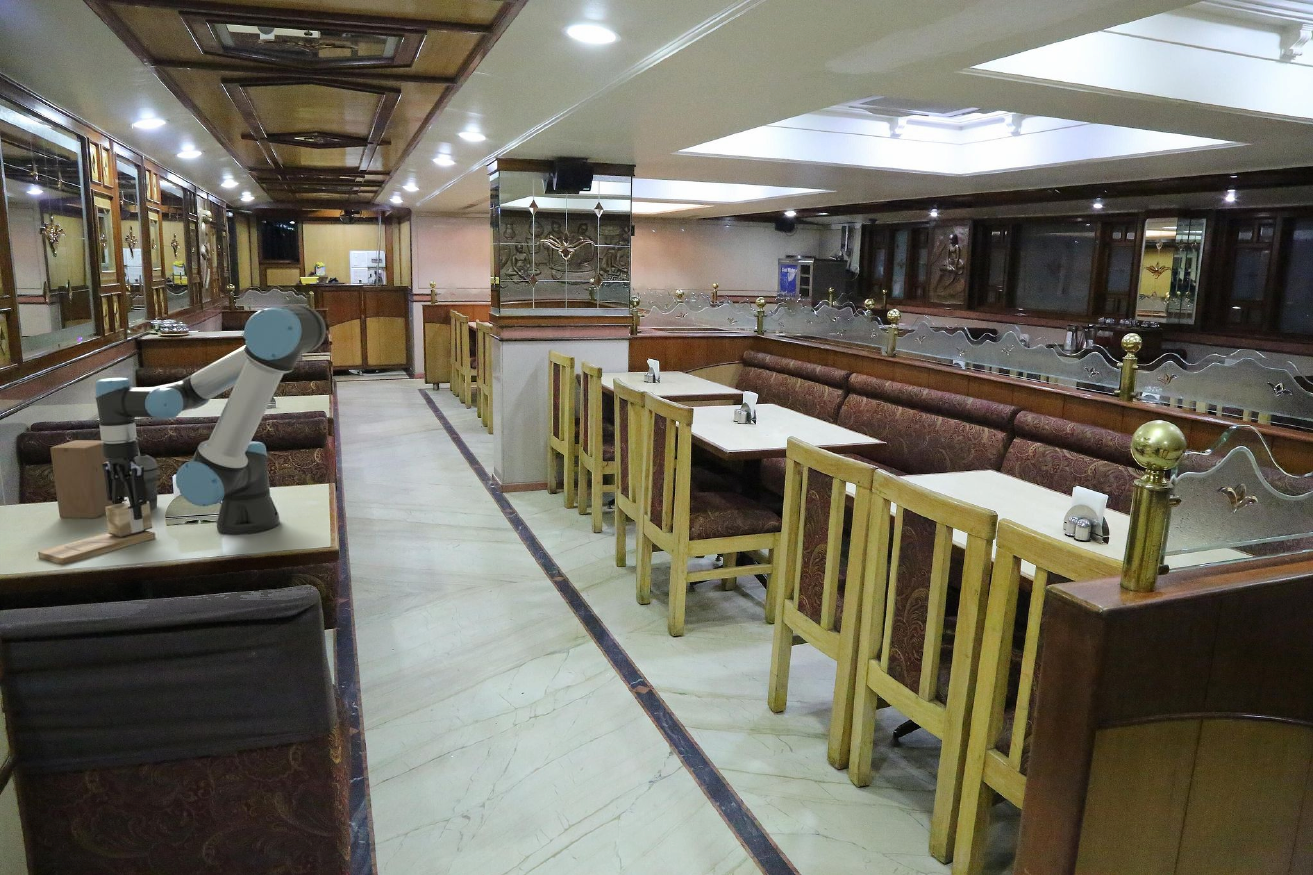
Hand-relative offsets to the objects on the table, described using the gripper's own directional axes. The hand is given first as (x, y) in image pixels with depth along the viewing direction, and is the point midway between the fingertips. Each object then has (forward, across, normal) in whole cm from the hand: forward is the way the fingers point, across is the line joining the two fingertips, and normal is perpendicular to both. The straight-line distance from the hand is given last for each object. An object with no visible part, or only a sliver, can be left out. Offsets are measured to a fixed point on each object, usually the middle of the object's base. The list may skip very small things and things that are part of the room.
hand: (130, 529), depth 213 cm
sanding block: (0, 0, 0) cm, 0 cm away
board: (+2, 0, +8) cm, 8 cm away
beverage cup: (+3, +23, -19) cm, 30 cm away
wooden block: (+3, +32, -8) cm, 33 cm away
